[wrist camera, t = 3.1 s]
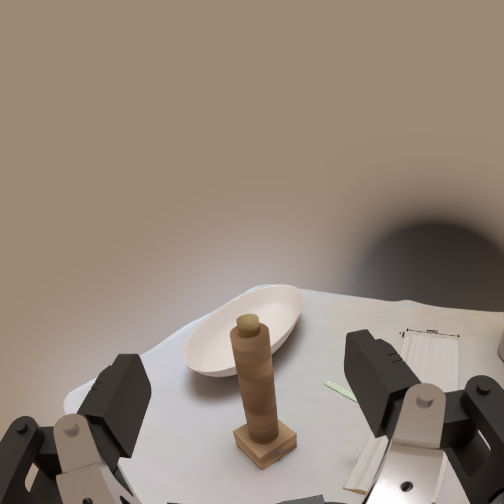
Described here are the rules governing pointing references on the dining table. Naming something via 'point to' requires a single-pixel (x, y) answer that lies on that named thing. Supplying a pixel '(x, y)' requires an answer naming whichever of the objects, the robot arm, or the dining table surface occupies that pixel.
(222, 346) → the bowl
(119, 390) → the robot arm
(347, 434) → the dining table surface
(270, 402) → the brown peg on stand
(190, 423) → the dining table surface
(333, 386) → the tape mark
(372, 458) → the baseboard molding
